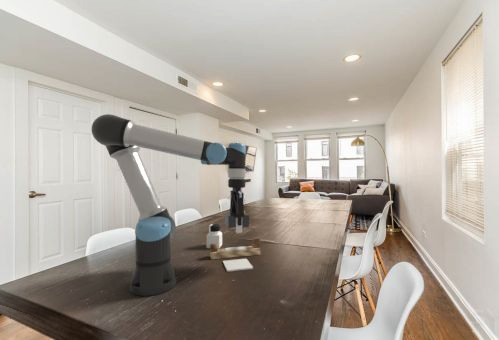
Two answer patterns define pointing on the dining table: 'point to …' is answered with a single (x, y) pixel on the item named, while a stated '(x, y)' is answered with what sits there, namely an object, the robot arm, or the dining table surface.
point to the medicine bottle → (214, 235)
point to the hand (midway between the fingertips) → (236, 230)
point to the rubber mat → (237, 265)
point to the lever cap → (231, 220)
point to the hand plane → (235, 250)
